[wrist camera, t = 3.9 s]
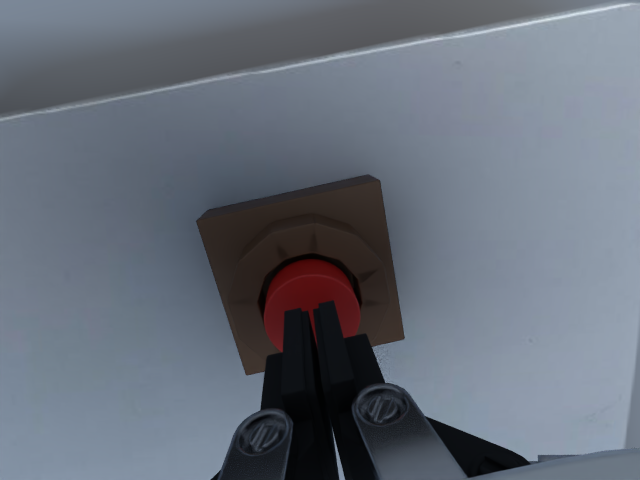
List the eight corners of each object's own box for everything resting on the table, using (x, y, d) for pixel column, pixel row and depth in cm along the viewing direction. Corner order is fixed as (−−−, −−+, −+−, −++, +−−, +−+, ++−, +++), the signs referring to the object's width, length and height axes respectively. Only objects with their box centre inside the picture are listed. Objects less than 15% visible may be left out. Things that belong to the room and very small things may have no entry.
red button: (256, 269, 14) (252, 287, 12) (344, 249, 14) (351, 264, 13) (278, 345, 15) (276, 370, 14) (359, 326, 15) (367, 349, 14)
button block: (207, 210, 17) (182, 231, 13) (369, 174, 17) (391, 185, 13) (250, 349, 19) (240, 403, 16) (392, 317, 19) (417, 362, 16)
